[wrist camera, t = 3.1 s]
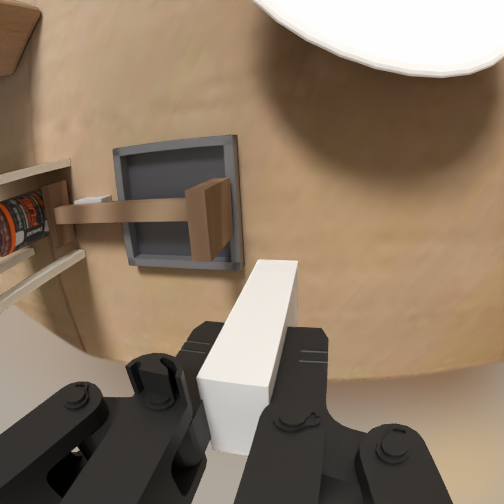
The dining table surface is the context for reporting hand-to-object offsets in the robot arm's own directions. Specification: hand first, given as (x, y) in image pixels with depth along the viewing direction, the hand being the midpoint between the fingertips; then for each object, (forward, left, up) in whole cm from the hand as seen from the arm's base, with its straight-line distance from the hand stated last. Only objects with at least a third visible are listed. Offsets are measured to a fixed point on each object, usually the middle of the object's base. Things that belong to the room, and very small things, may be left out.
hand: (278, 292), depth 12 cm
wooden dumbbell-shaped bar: (-16, 0, -16) cm, 23 cm away
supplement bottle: (-31, 0, -17) cm, 35 cm away
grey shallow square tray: (-12, 0, -17) cm, 20 cm away
